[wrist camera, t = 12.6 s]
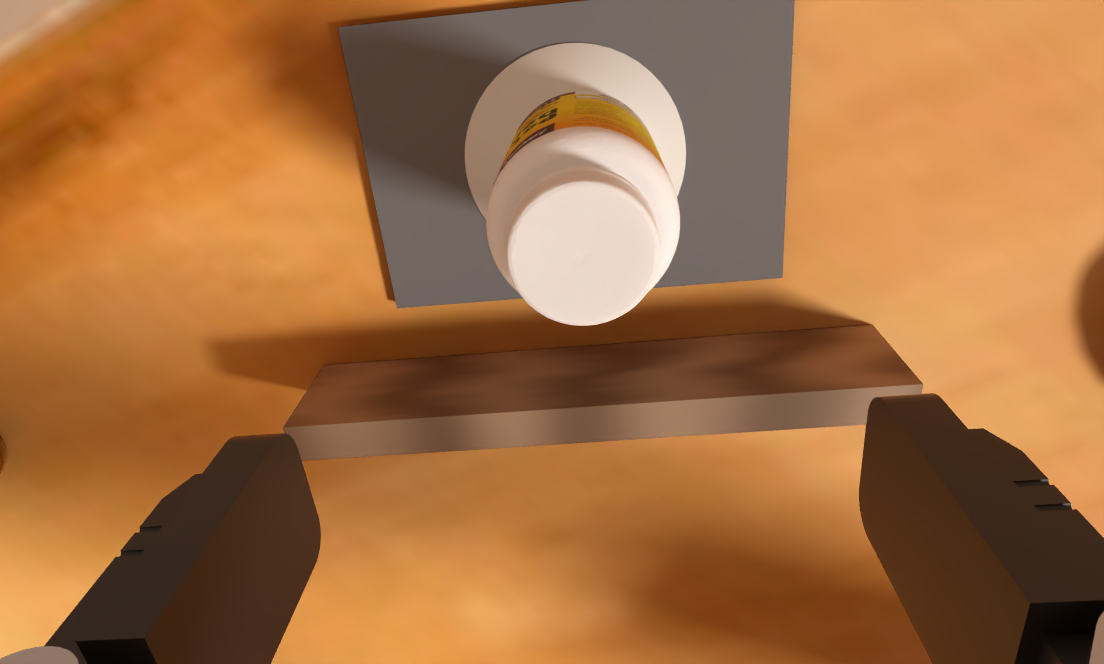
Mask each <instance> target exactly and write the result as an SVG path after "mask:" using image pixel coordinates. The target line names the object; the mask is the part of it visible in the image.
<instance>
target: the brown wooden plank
mask: <svg viewBox="0 0 1104 664" xmlns="http://www.w3.org/2000/svg"><path fill="white" fill-rule="evenodd" d="M922 388H923V383H922V382H921V381H920V380H919V379H918V378H917V376H916V375H915V374H914V373H913V372H912V371H911V369H910V368H909V367H908V366H907V365H906V363H905V362H904V361H903V360H902V359H901V358H900V356H899V355H898V354H897V353H896V352H895V351H894V349H893V348H892V347H891V346H890V345H889V344H888V342H887V341H886V340H885V339H884V338H883V337H882V335H881V334H880V333H879V332H878V331H877V329H876V328H875V327H874V326H873V325H861V326H848V327H834V328H821V329H807V330H794V331H780V332H767V333H753V334H740V335H726V336H712V337H699V338H685V339H672V340H658V341H645V342H631V343H618V344H604V345H591V346H577V347H564V348H550V349H537V350H523V351H510V352H496V353H482V354H469V355H455V356H442V357H428V358H415V359H401V360H388V361H374V362H361V363H347V364H334V365H324V366H323V367H322V369H321V370H320V372H319V373H318V375H317V376H316V378H315V380H314V381H313V383H312V384H311V386H310V387H309V389H308V390H307V392H306V393H305V395H304V396H303V398H302V399H301V401H300V403H299V404H298V406H297V407H296V409H295V410H294V412H293V413H292V415H291V416H290V418H289V419H288V421H287V422H286V424H285V426H284V427H283V429H284V432H285V434H289V435H290V436H291V437H292V438H293V439H294V441H295V443H296V445H297V448H298V451H299V454H300V458H301V461H306V460H322V459H337V458H353V457H368V456H384V455H400V454H415V453H431V452H446V451H462V450H477V449H493V448H508V447H524V446H539V445H555V444H570V443H586V442H601V441H617V440H632V439H648V438H663V437H679V436H694V435H710V434H725V433H741V432H757V431H772V430H788V429H803V428H819V427H834V426H850V425H865V424H866V423H867V414H868V409H869V405H870V403H871V401H872V400H873V399H874V398H875V397H885V396H901V395H916V394H922Z"/></svg>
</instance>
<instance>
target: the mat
mask: <svg viewBox="0 0 1104 664" xmlns="http://www.w3.org/2000/svg"><path fill="white" fill-rule="evenodd" d="M793 23H794V0H583V1H574V2H564V3H555V4H546V5H537V6H527V7H518V8H509V9H499V10H490V11H481V12H472V13H462V14H453V15H444V16H435V17H425V18H416V19H407V20H398V21H388V22H379V23H370V24H360V25H351V26H342V27H338V31H339V36H340V41H341V46H342V50H343V55H344V60H345V64H346V69H347V74H348V79H349V83H350V88H351V93H352V98H353V102H354V107H355V112H356V116H357V121H358V126H359V131H360V135H361V140H362V145H363V150H364V154H365V159H366V164H367V168H368V173H369V178H370V183H371V187H372V192H373V197H374V202H375V206H376V211H377V216H378V220H379V225H380V230H381V235H382V239H383V244H384V249H385V254H386V258H387V263H388V268H389V273H390V277H391V282H392V287H393V291H394V296H395V301H396V306H397V308H406V307H419V306H432V305H444V304H457V303H470V302H482V301H495V300H508V299H520V298H522V297H521V295H520V294H519V293H518V292H517V291H516V290H515V289H514V288H513V287H512V286H511V285H510V284H509V283H508V282H507V281H506V279H505V278H504V276H503V275H502V273H501V272H500V270H499V269H498V267H497V265H496V263H495V261H494V258H493V256H492V253H491V250H490V247H489V243H488V238H487V229H486V217H487V208H488V203H489V198H490V194H491V191H492V188H493V185H494V182H495V180H496V178H497V176H498V173H499V171H500V168H501V165H502V163H503V160H504V159H505V157H506V154H507V152H508V150H509V147H510V145H511V143H512V140H513V138H514V136H515V134H516V132H517V130H518V128H519V127H520V125H521V124H522V122H523V121H524V120H525V118H526V117H527V116H528V115H529V114H530V113H531V112H532V111H533V110H534V109H535V108H536V107H538V106H539V105H540V104H542V103H543V102H545V101H547V100H548V99H550V98H553V97H555V96H558V95H560V94H564V93H568V92H575V91H593V92H598V93H603V94H606V95H609V96H611V97H614V98H616V99H617V100H619V101H621V102H623V103H624V104H625V105H627V106H628V107H630V108H631V109H632V110H633V111H634V112H635V113H636V114H637V115H638V116H639V117H640V119H641V120H642V121H643V123H644V124H645V126H646V127H647V129H648V131H649V133H650V135H651V137H652V139H653V141H654V144H655V146H656V148H657V150H658V152H659V155H660V157H661V160H662V162H663V164H664V166H665V168H666V171H667V173H668V175H669V177H670V179H671V181H672V184H673V186H674V189H675V193H676V196H677V200H678V205H679V212H680V233H679V240H678V244H677V247H676V251H675V253H674V256H673V258H672V261H671V263H670V265H669V267H668V268H667V270H666V272H665V273H664V275H663V276H662V277H661V279H660V280H659V281H658V282H657V284H656V285H655V286H654V287H653V288H659V287H672V286H685V285H697V284H710V283H722V282H735V281H748V280H760V279H773V278H782V274H783V251H784V228H785V206H786V183H787V160H788V137H789V114H790V91H791V69H792V46H793Z"/></svg>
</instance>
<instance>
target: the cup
mask: <svg viewBox="0 0 1104 664" xmlns="http://www.w3.org/2000/svg"><path fill="white" fill-rule="evenodd" d="M6 458H7V452H6V448H5V445H4V443H3V441H2V439H1V438H0V473H1V472H2V470H3V467H4V465H5V462H6Z"/></svg>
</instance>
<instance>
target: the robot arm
mask: <svg viewBox="0 0 1104 664" xmlns="http://www.w3.org/2000/svg"><path fill="white" fill-rule="evenodd" d="M859 504H860V512H861V517H862V522H863V525H864V529H865V531H866V534H867V536H868V539H869V541H870V543H871V545H872V546H873V548H874V550H875V552H876V554H877V556H878V558H879V560H880V562H881V564H882V566H883V568H884V570H885V572H886V574H887V576H888V577H889V579H890V581H891V583H892V585H893V587H894V589H895V591H896V593H897V595H898V597H899V599H900V601H901V603H902V605H903V606H904V608H905V610H906V612H907V614H908V616H909V618H910V620H911V622H912V624H913V626H914V628H915V630H916V632H917V634H918V636H919V637H920V639H921V641H922V643H923V645H924V647H925V649H926V651H927V653H928V655H929V657H930V659H931V661H932V663H933V664H1104V538H1103V537H1102V536H1101V535H1100V534H1099V533H1098V532H1097V531H1096V529H1095V528H1094V527H1093V526H1092V525H1091V524H1090V523H1089V522H1088V521H1087V520H1086V519H1085V518H1084V517H1083V516H1082V515H1081V513H1080V512H1079V511H1078V510H1077V509H1075V510H1072V508H1071V503H1070V502H1069V501H1068V500H1067V499H1066V497H1065V496H1064V495H1063V494H1062V493H1061V492H1060V491H1059V490H1058V489H1057V488H1056V487H1055V486H1054V485H1049V482H1048V478H1047V477H1046V476H1045V475H1044V474H1043V473H1042V472H1041V471H1040V470H1039V469H1038V468H1037V466H1036V465H1035V464H1034V463H1033V462H1032V461H1031V460H1030V459H1029V458H1028V457H1027V456H1026V455H1025V454H1024V453H1023V452H1022V451H1021V450H1019V449H1018V448H1016V447H1014V446H1012V445H1011V444H1009V443H1007V442H1006V441H1004V440H1002V439H1000V438H999V437H997V436H995V435H994V434H992V433H990V432H988V431H987V430H985V429H983V428H981V429H967V427H966V426H965V425H964V424H963V423H962V422H961V420H960V419H959V418H958V417H957V416H956V415H955V413H954V412H953V411H952V410H951V409H950V408H949V407H948V405H947V404H946V403H945V402H944V401H943V400H942V399H941V398H940V397H939V396H938V395H936V394H933V393H932V394H916V395H901V396H885V397H875V398H874V399H873V400H872V401H871V403H870V405H869V409H868V414H867V423H866V432H865V441H864V450H863V459H862V468H861V477H860V486H859ZM320 539H321V531H320V522H319V517H318V514H317V510H316V507H315V504H314V501H313V497H312V494H311V491H310V487H309V484H308V481H307V477H306V474H305V471H304V468H303V464H302V461H301V458H300V454H299V451H298V448H297V445H296V443H295V441H294V439H293V438H292V437H291V436H290V435H289V434H285V433H283V434H267V435H251V436H236V437H232V438H231V439H229V440H228V441H227V442H226V443H225V445H224V446H223V447H222V449H221V450H220V451H219V453H218V454H217V455H216V457H215V458H214V459H213V461H212V462H211V463H210V465H209V466H208V467H207V468H206V470H205V471H204V472H203V474H195V475H194V476H192V477H191V478H190V479H188V480H187V481H186V482H184V483H183V484H182V485H180V486H179V487H178V488H176V489H175V490H174V491H172V492H171V493H170V494H168V495H167V496H166V497H164V498H163V499H162V500H161V501H160V502H159V504H158V505H157V506H156V507H155V509H154V510H153V511H152V512H151V514H150V515H149V516H148V517H147V519H146V520H145V521H144V522H143V524H142V525H141V526H140V532H139V533H135V534H134V535H133V536H132V537H131V539H130V540H129V541H128V542H127V544H126V545H125V546H124V547H123V549H122V550H121V556H120V557H115V558H114V560H113V561H112V562H111V563H110V565H109V566H108V567H107V568H106V570H105V571H104V572H103V573H102V575H101V576H100V577H99V578H98V580H97V581H96V582H95V583H94V585H93V586H92V587H91V588H90V590H89V591H88V592H87V593H86V595H85V596H84V597H83V598H82V600H81V601H80V602H79V603H78V605H77V606H76V607H75V608H74V610H73V611H72V612H71V613H70V615H69V616H68V617H67V618H66V620H65V621H64V622H63V623H62V625H61V626H60V627H59V628H58V630H57V631H56V632H55V633H54V635H53V636H52V637H51V638H50V640H49V641H48V642H47V643H46V645H45V646H44V647H35V648H30V649H26V650H22V651H19V652H16V653H13V654H10V655H8V656H5V657H3V658H1V659H0V664H271V662H272V660H273V657H274V655H275V653H276V651H277V648H278V646H279V644H280V642H281V640H282V637H283V635H284V633H285V631H286V628H287V626H288V624H289V622H290V620H291V617H292V615H293V613H294V611H295V609H296V606H297V604H298V602H299V600H300V597H301V595H302V593H303V591H304V589H305V586H306V584H307V582H308V580H309V577H310V575H311V573H312V571H313V569H314V566H315V564H316V561H317V558H318V554H319V549H320Z"/></svg>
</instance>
